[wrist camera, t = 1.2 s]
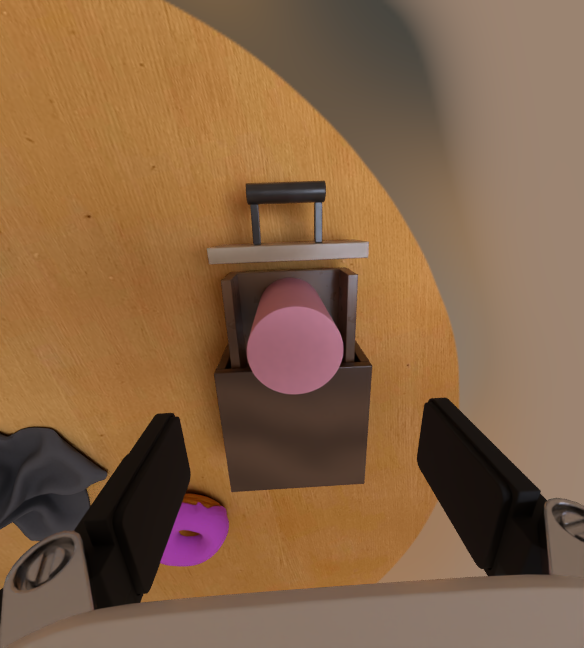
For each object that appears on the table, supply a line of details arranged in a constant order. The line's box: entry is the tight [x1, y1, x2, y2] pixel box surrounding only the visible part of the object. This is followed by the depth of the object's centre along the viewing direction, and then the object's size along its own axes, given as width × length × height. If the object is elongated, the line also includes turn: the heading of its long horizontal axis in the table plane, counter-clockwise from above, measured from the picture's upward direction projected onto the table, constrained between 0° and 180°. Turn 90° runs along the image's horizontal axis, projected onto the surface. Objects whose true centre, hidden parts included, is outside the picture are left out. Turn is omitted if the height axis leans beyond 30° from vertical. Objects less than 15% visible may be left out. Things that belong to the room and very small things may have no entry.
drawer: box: [207, 181, 369, 369], centre depth 24 cm, size 17×12×5 cm
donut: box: [160, 494, 229, 566], centre depth 35 cm, size 10×10×5 cm
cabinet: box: [214, 341, 372, 492], centre depth 29 cm, size 14×14×7 cm
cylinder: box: [247, 278, 343, 394], centre depth 22 cm, size 6×6×10 cm
